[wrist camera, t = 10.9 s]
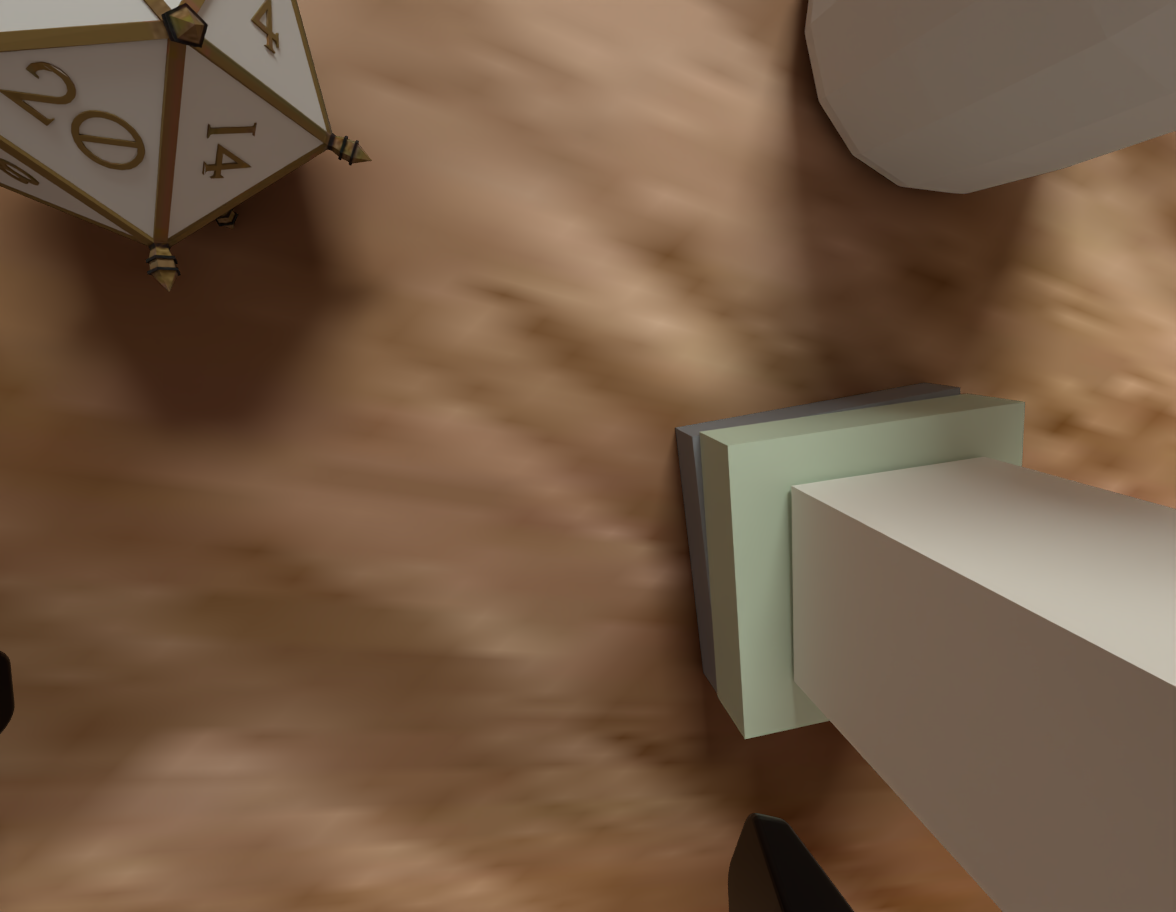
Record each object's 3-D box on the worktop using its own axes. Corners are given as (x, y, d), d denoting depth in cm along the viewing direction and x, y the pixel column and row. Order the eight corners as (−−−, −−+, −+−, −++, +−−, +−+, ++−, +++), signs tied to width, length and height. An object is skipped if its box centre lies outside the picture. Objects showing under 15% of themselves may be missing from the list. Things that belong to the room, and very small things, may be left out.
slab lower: (697, 664, 23) (720, 699, 21) (670, 425, 21) (692, 436, 19) (919, 612, 24) (961, 639, 22) (914, 381, 22) (960, 387, 20)
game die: (316, 145, 20) (508, 170, 14) (65, 300, 17) (168, 417, 11) (76, -258, 14) (233, -538, 8) (-383, -124, 11) (-731, -405, 5)
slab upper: (717, 696, 21) (745, 739, 19) (699, 431, 19) (727, 445, 17) (960, 646, 22) (1011, 680, 20) (967, 393, 20) (1025, 401, 18)
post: (793, 681, 18) (1234, 1166, 8) (791, 485, 17) (1324, 763, 7) (972, 644, 20) (1572, 1031, 9) (983, 456, 18) (1714, 656, 8)
